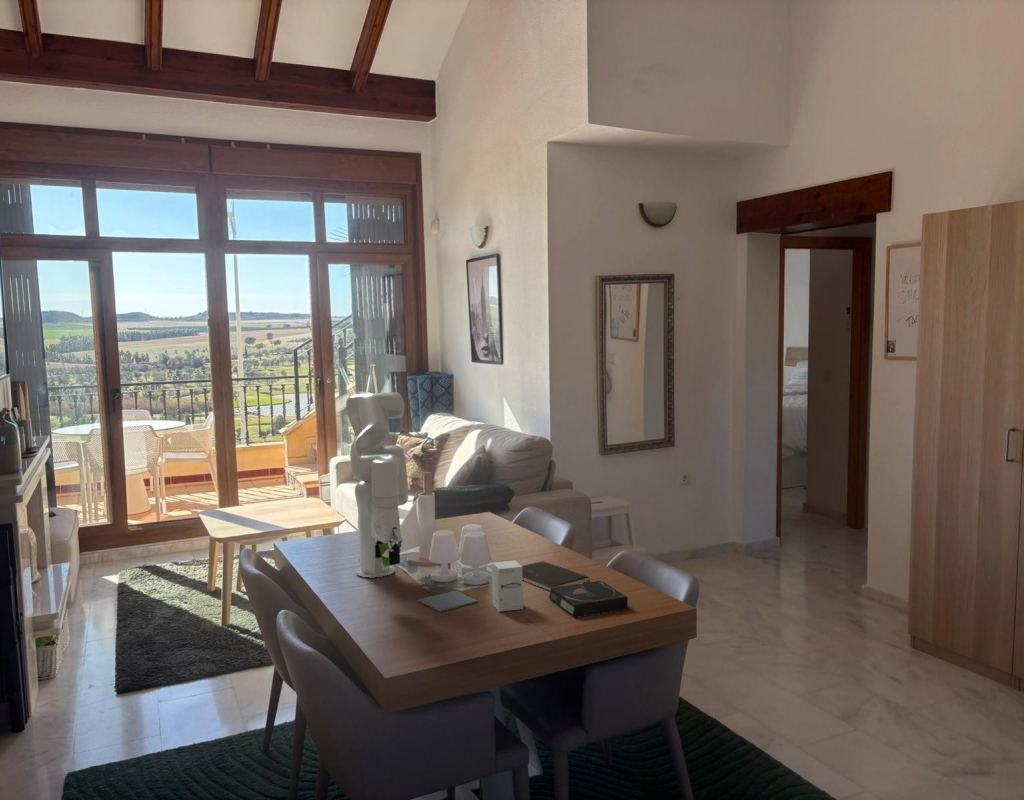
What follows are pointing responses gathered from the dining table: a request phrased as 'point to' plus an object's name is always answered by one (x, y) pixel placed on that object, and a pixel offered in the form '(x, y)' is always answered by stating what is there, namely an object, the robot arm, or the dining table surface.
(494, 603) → the supplement box
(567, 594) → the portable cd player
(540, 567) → the hardcover book
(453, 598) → the mat
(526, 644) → the dining table surface
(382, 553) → the geometric puzzle
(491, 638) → the dining table surface
